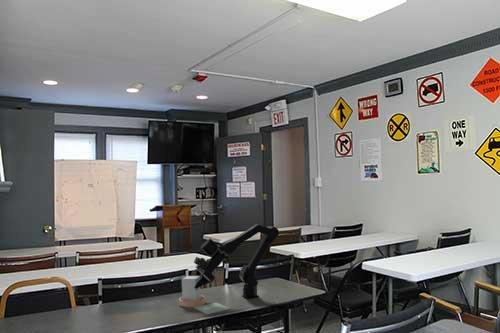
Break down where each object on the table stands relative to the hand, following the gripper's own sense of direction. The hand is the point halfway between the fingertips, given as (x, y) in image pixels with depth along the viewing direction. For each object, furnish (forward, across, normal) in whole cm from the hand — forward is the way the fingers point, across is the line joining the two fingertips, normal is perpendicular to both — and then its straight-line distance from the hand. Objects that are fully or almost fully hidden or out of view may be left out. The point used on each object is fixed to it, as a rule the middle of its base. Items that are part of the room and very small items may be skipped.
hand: (193, 285), depth 201 cm
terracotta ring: (+6, 0, +6) cm, 8 cm away
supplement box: (+6, 0, +6) cm, 9 cm away
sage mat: (+1, +12, +10) cm, 16 cm away
